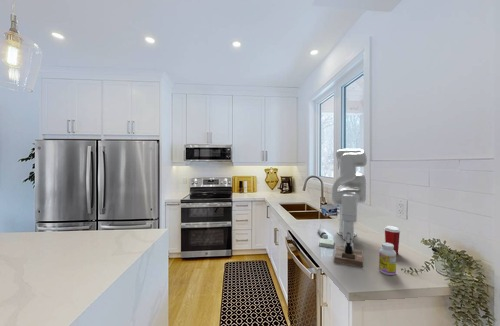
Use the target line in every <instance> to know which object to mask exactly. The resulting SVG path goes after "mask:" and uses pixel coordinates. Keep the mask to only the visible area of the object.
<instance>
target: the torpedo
mask: <svg viewBox="0 0 500 326" xmlns="http://www.w3.org/2000/svg"><path fill="white" fill-rule="evenodd" d="M319 226H320V227H319V228H317V230H316V231H317V232H318V233H319V235H320V236H321V238H322V239H329V237H328V234H327V233H326V231H325V230H324V228H322V227H321V223H320V225H319Z"/></svg>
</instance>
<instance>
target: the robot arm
mask: <svg viewBox="0 0 500 326" xmlns="http://www.w3.org/2000/svg"><path fill="white" fill-rule="evenodd" d="M335 157H336V160H337V162H338V164H339V168H340V171H339V175H340V176H339V177H338V178H336V180H334V182H333V185H332V188H331V189H332V191H331V194H332V195H331V200H332V202H333V204H334V205H338V206H339V207H338V209H339V210H338V212H339V213H338V215H339V216H338V223H339V224H338V226H339V227H338V229H337V230H336V233H337V234H338V235H339V236H342V240H343V241H346V245H345V253H347V254H352V246H351V244H352V242H353V241H354V237H356V236H357V232H356V231H355V223H357V221H358V220H357V219H358V216H357V215H358V208H357V207H358V205H359V204H364V203H365V202H366V200H367V199H366V198H367V196H366V195H367V194H366V193H367V179H366V176H365V174H362V173H356V172H357V171H356V168H357V167H358V168H364V167H365V166H366V165H367V163H368V162H367V161H368V160H367V158H368V157H367V155H366V151H365V150H364V149H363V148H362V149H361V148H343V149H338V150H337V151H336V153H335ZM340 186H341V187H344V188H340V189H339V190H338V188H339V187H340Z"/></svg>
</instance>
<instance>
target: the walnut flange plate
mask: <svg viewBox="0 0 500 326" xmlns="http://www.w3.org/2000/svg"><path fill="white" fill-rule="evenodd" d="M363 256H364V255H363V250H362V249H359V248H358V249H356V248H353V253H352V254H347V253H345V252H344V246H340V245H339V246H338V245H337V246H336V248H335V252H334V257H333V263H337V264H341V265H348V266H353V267H360V268H364V258H363Z"/></svg>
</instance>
